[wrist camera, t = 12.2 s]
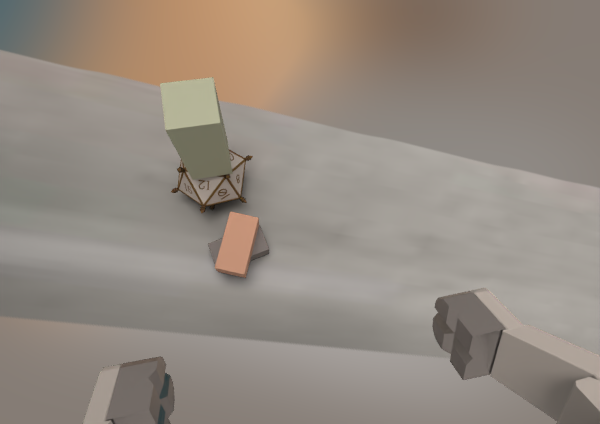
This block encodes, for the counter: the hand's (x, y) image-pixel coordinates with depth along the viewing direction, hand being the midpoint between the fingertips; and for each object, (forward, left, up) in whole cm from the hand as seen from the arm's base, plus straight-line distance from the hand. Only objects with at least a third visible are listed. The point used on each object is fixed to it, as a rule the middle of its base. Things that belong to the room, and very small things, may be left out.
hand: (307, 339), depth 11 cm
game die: (-5, +17, -32) cm, 36 cm away
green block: (-4, +17, -23) cm, 30 cm away
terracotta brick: (-3, +9, -29) cm, 30 cm away
